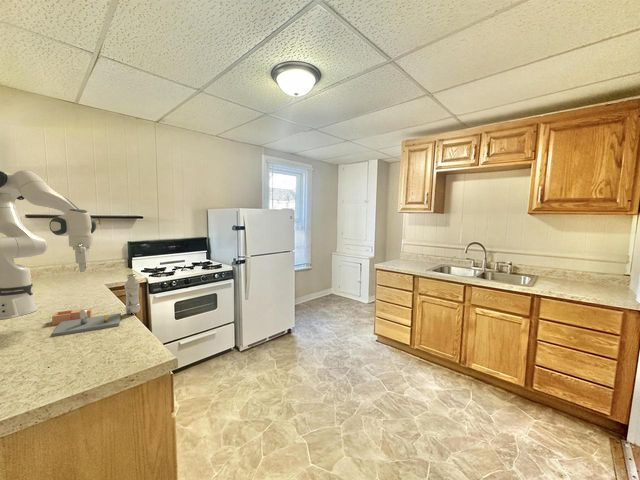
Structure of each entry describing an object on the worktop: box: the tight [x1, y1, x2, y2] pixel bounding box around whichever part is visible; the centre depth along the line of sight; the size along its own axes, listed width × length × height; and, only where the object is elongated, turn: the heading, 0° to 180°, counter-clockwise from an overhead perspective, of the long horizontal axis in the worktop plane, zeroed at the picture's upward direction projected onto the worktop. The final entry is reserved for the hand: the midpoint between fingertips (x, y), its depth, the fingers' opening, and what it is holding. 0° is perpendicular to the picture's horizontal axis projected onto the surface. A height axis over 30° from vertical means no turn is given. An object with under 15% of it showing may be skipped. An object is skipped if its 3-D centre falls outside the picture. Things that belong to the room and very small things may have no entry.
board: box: [52, 312, 122, 337], centre depth 124 cm, size 22×15×2 cm
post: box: [80, 309, 109, 325], centre depth 123 cm, size 10×2×6 cm, turn 104°
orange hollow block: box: [51, 307, 93, 326], centre depth 130 cm, size 13×7×4 cm, turn 123°
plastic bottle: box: [124, 273, 141, 315], centre depth 140 cm, size 6×7×20 cm
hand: (83, 270), depth 134 cm, fingers open, 8 cm apart
